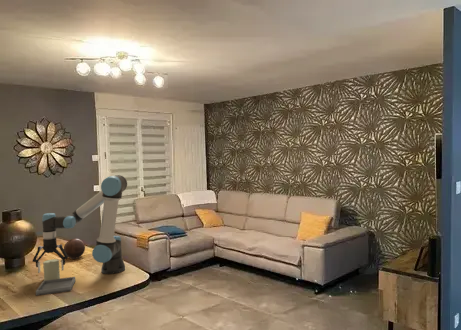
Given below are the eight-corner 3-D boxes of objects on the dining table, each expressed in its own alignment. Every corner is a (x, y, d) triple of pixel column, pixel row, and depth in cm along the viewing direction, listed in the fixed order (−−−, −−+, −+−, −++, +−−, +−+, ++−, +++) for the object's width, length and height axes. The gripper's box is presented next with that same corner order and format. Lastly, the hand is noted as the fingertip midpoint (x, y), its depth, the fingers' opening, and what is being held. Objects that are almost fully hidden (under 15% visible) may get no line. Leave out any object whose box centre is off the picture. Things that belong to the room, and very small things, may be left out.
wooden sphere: (89, 256, 276) (88, 237, 275) (71, 262, 263) (70, 242, 263) (77, 254, 284) (76, 235, 283) (59, 259, 271) (58, 240, 271)
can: (43, 282, 221) (42, 263, 221) (43, 278, 229) (42, 260, 229) (60, 279, 225) (59, 261, 225) (59, 275, 234) (58, 257, 233)
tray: (75, 280, 223) (75, 276, 223) (70, 291, 205) (70, 286, 205) (43, 284, 218) (43, 280, 218) (36, 295, 200) (35, 291, 200)
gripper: (72, 235, 233) (73, 267, 234) (29, 238, 227) (30, 271, 227) (70, 237, 226) (71, 270, 227) (26, 241, 220) (27, 275, 220)
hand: (51, 271), depth 227 cm, fingers open, 13 cm apart
